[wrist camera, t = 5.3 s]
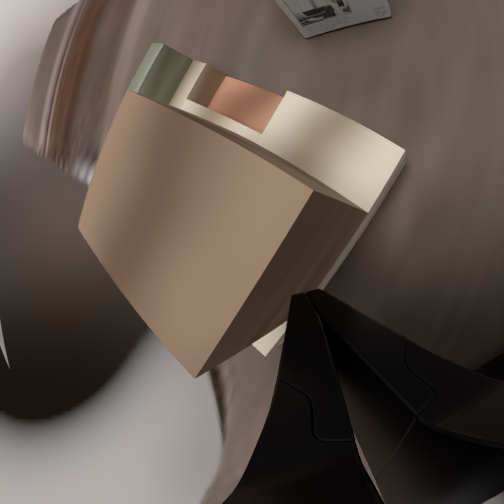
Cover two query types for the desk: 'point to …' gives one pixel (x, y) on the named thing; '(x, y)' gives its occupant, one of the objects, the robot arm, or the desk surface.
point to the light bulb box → (332, 13)
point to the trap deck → (280, 135)
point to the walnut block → (207, 229)
